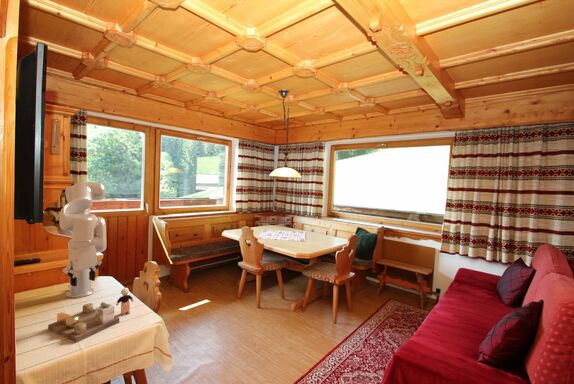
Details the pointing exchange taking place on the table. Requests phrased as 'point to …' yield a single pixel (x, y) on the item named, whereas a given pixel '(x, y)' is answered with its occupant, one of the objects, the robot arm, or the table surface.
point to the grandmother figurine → (125, 302)
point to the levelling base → (87, 322)
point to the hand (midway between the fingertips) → (83, 282)
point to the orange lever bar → (68, 320)
